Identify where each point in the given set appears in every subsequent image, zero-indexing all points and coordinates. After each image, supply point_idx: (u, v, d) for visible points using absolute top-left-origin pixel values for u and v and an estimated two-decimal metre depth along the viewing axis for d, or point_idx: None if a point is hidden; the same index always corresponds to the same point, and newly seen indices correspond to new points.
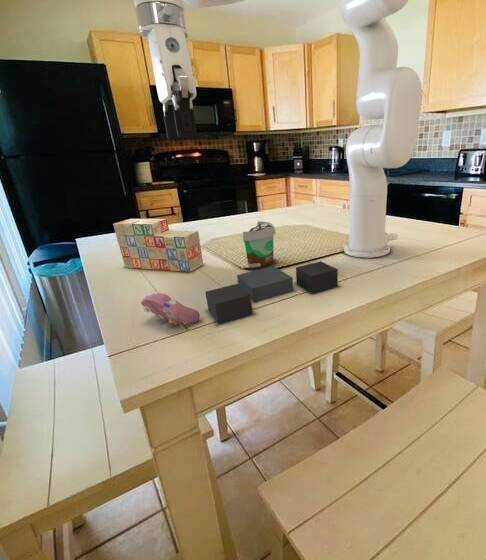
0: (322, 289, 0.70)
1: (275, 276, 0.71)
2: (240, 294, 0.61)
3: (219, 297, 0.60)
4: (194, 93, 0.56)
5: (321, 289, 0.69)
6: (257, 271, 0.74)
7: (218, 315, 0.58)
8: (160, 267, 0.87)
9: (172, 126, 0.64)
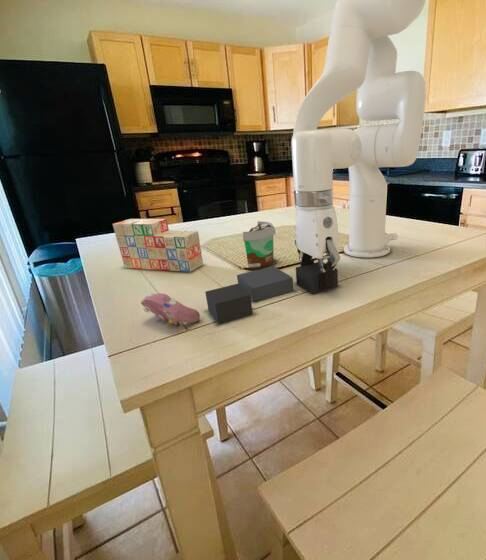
0: None
1: (275, 276, 0.71)
2: (240, 294, 0.61)
3: (219, 297, 0.60)
4: None
5: None
6: (257, 271, 0.74)
7: (218, 315, 0.58)
8: (160, 267, 0.87)
9: None
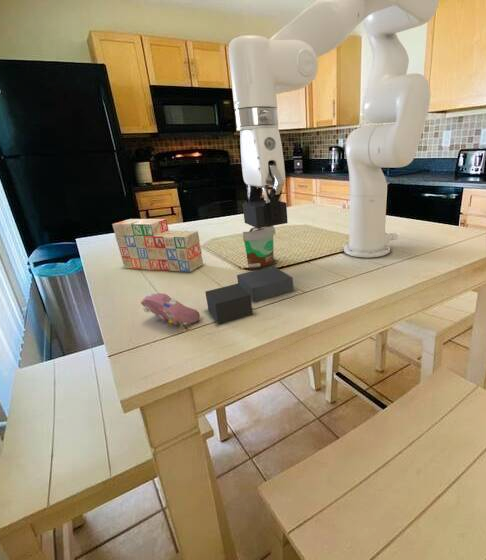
0: (269, 224, 0.64)
1: (275, 276, 0.71)
2: (240, 294, 0.61)
3: (219, 297, 0.60)
4: (284, 182, 0.61)
5: None
6: (257, 271, 0.74)
7: (218, 315, 0.58)
8: (160, 267, 0.87)
9: None
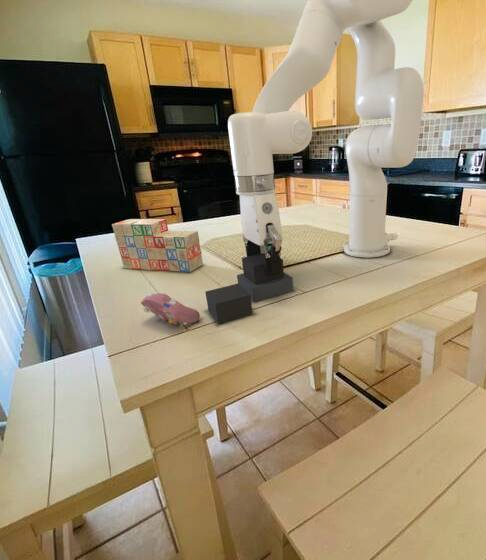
0: (266, 280, 0.68)
1: None
2: (240, 294, 0.61)
3: (219, 297, 0.60)
4: None
5: (265, 280, 0.68)
6: None
7: (218, 315, 0.58)
8: (160, 267, 0.87)
9: (252, 253, 0.73)
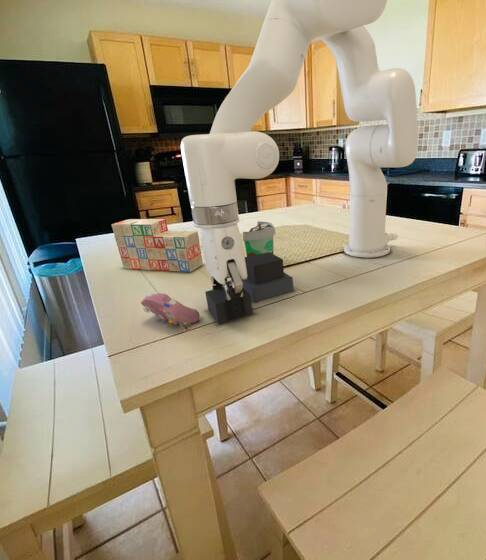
0: (266, 280, 0.68)
1: None
2: None
3: (219, 297, 0.60)
4: (246, 278, 0.57)
5: (265, 280, 0.68)
6: None
7: (217, 315, 0.58)
8: (159, 268, 0.87)
9: None
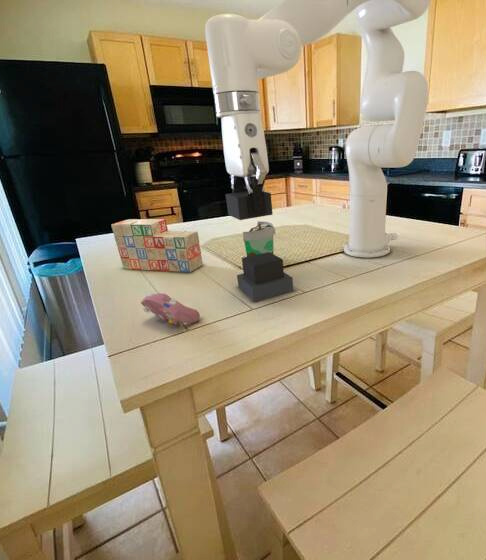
0: (266, 280, 0.68)
1: None
2: None
3: (240, 195, 0.61)
4: (267, 171, 0.58)
5: (265, 280, 0.68)
6: None
7: (239, 210, 0.59)
8: (159, 268, 0.87)
9: None
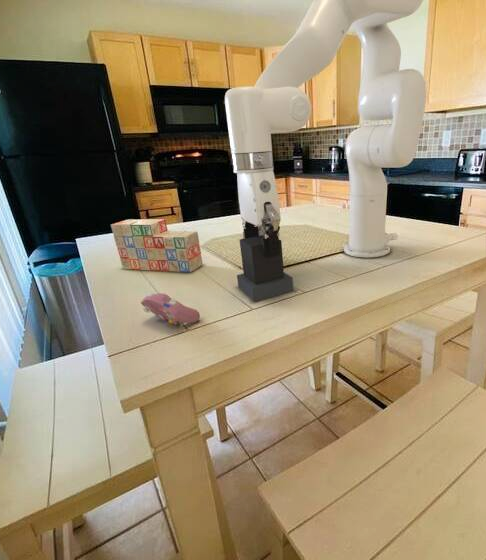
0: (266, 280, 0.68)
1: None
2: None
3: (253, 242, 0.66)
4: (279, 221, 0.64)
5: (265, 280, 0.68)
6: None
7: (253, 257, 0.65)
8: (159, 268, 0.87)
9: (250, 236, 0.72)
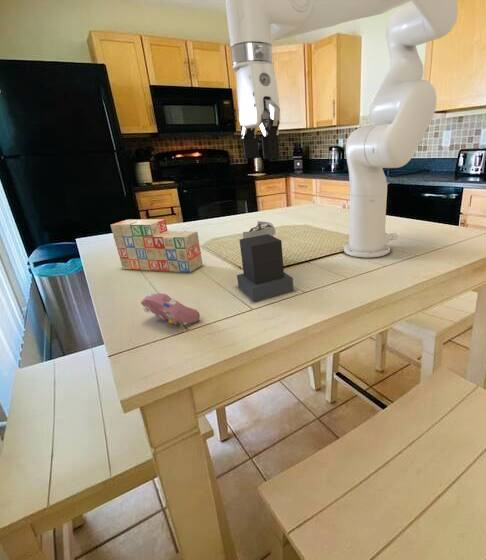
0: (266, 280, 0.68)
1: None
2: (271, 240, 0.67)
3: (253, 242, 0.66)
4: (279, 120, 0.63)
5: (265, 280, 0.68)
6: None
7: (253, 257, 0.65)
8: (159, 268, 0.87)
9: (249, 147, 0.71)
